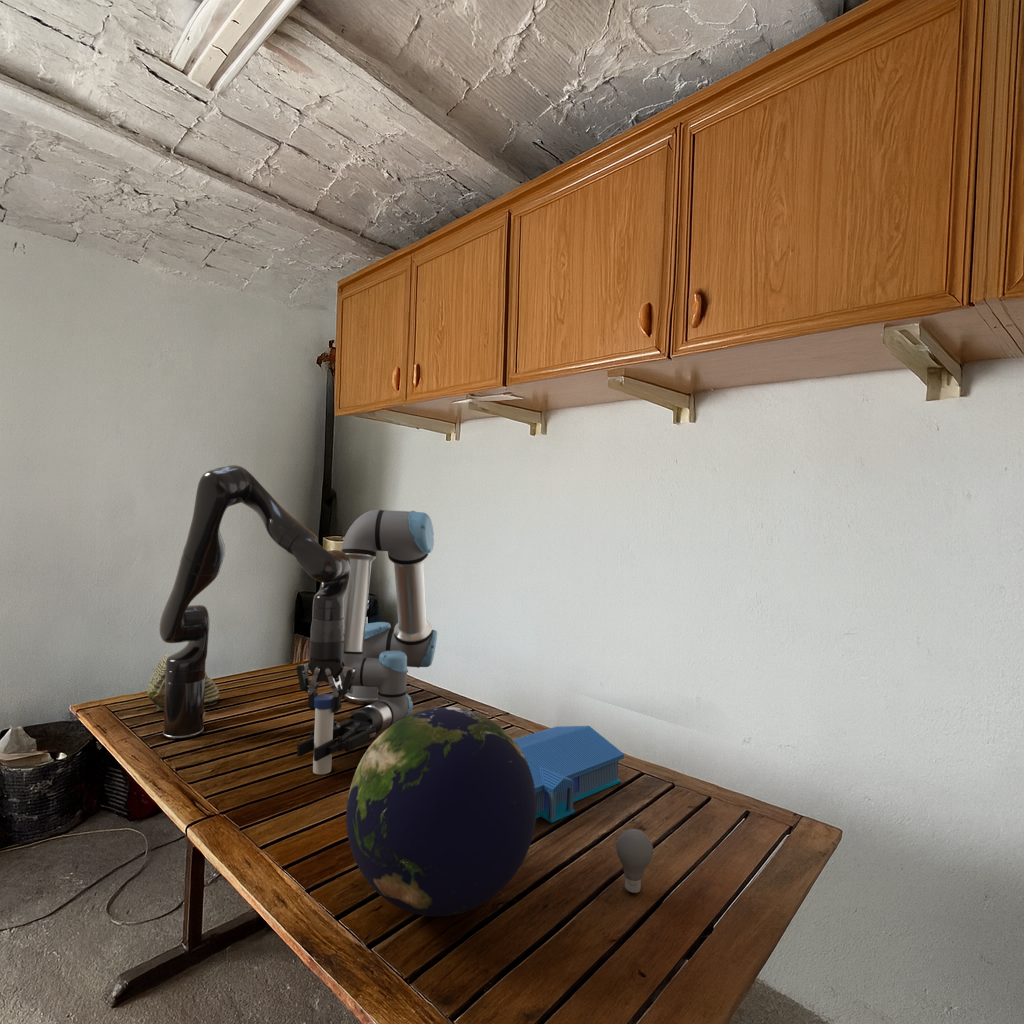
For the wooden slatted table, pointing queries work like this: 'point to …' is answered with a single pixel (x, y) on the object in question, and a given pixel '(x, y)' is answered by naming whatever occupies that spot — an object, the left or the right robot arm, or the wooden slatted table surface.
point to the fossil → (158, 687)
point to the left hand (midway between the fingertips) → (324, 710)
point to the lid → (323, 701)
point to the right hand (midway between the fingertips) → (307, 752)
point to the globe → (441, 811)
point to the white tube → (323, 738)
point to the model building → (568, 767)
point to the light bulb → (634, 857)
